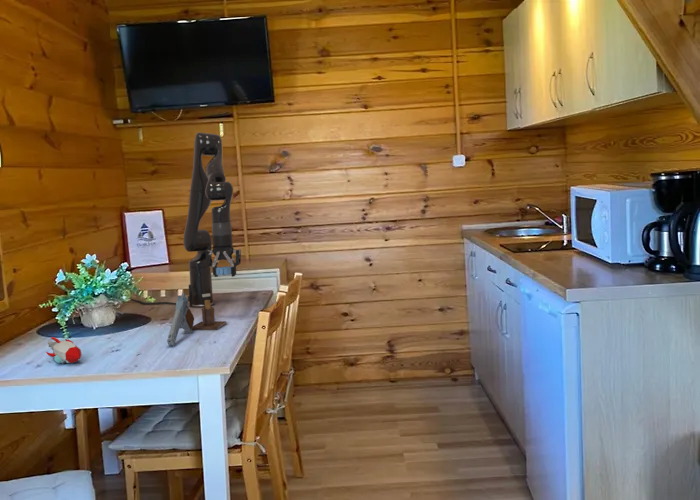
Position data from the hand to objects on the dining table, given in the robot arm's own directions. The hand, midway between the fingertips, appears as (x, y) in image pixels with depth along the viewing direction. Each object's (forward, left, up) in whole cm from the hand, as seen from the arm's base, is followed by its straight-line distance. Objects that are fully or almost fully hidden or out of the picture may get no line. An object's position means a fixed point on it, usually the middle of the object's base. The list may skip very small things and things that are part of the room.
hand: (224, 276), depth 260 cm
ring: (0, 0, +1) cm, 1 cm away
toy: (-34, -56, -18) cm, 68 cm away
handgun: (-5, -32, -17) cm, 37 cm away
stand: (-2, -14, -17) cm, 22 cm away
